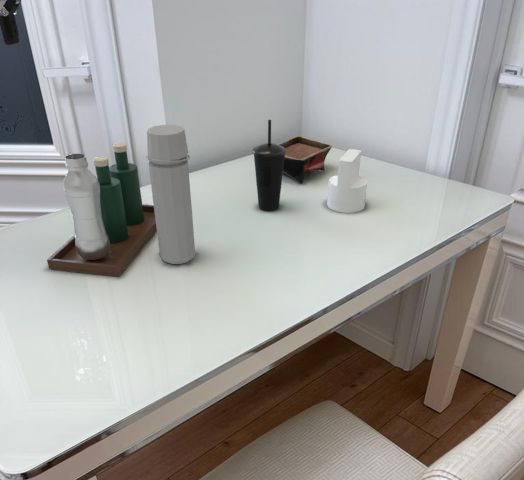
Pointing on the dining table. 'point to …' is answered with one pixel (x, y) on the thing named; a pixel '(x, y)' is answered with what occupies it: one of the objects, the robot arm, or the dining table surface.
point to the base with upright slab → (347, 185)
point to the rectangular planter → (304, 156)
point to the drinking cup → (269, 172)
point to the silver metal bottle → (85, 208)
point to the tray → (117, 256)
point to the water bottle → (171, 192)
